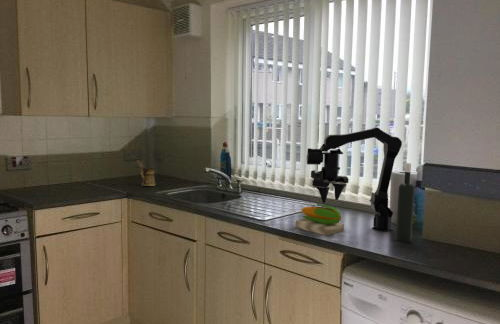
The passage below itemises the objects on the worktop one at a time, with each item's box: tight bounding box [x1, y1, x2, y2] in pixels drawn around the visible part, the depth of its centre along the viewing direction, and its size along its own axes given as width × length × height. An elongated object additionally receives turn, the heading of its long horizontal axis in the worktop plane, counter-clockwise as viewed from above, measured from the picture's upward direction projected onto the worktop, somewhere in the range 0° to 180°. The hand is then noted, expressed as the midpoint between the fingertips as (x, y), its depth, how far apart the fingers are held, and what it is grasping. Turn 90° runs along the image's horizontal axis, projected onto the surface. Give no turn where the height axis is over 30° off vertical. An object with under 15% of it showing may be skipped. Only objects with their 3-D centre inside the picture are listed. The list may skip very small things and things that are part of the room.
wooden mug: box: [136, 159, 157, 187], centre depth 283 cm, size 9×14×18 cm, turn 141°
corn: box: [300, 203, 342, 225], centre depth 183 cm, size 7×8×20 cm
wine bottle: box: [395, 162, 415, 243], centre depth 169 cm, size 6×6×30 cm
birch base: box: [294, 218, 345, 236], centre depth 184 cm, size 16×12×3 cm
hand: (330, 201), depth 186 cm, fingers open, 9 cm apart
